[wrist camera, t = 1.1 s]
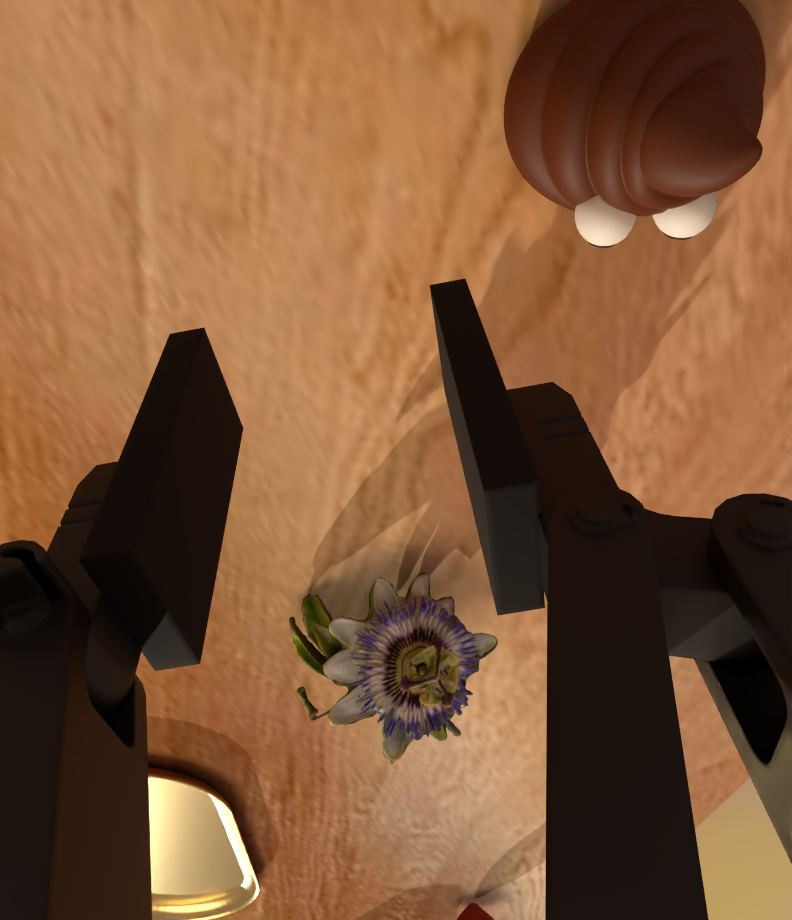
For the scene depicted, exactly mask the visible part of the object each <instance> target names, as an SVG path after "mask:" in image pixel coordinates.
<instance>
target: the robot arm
mask: <svg viewBox="0 0 792 920" xmlns="http://www.w3.org/2000/svg"><path fill="white" fill-rule="evenodd" d="M430 290H431V297H432V304H433V311H434V318H435V325H436V332H437V339H438V346H439V353H440V360H441V367H442V374H443V381H444V388H445V394H446V398H447V403H448V407H449V411H450V415H451V420H452V424H453V428H454V432H455V437H456V441H457V445H458V449H459V454H460V458H461V462H462V466H463V470H464V475H465V479H466V483H467V487H468V492H469V496H470V500H471V504H472V509H473V513H474V517H475V521H476V526H477V530H478V534H479V538H480V543H481V547H482V551H483V555H484V560H485V564H486V568H487V572H488V577H489V581H490V585H491V589H492V594H493V598H494V602H495V606H496V611H497V615H503V614H509V613H516V612H522V611H528V610H534V609H540V608H545V601H544V592H545V595H546V599H547V602H548V609H547V768H546V920H708V914H707V907H706V900H705V894H704V887H703V881H702V874H701V867H700V862H699V854H698V847H697V842H696V834H695V827H694V821H693V814H692V807H691V801H690V794H689V787H688V781H687V774H686V767H685V761H684V754H683V747H682V741H681V734H680V728H679V721H678V714H677V708H676V701H675V694H674V688H673V681H672V674H671V668H670V661H669V656H677V657H684V658H692V659H694V660H695V662H696V664H697V666H698V669H699V671H700V673H701V675H702V677H703V679H704V681H705V683H706V685H707V687H708V690H709V692H710V694H711V696H712V698H713V700H714V702H715V704H716V706H717V708H718V710H719V713H720V715H721V717H722V719H723V721H724V723H725V725H726V727H727V729H728V731H729V733H730V736H731V738H732V740H733V742H734V744H735V746H736V748H737V750H738V752H739V754H740V756H741V759H742V761H743V763H744V765H745V767H746V769H747V771H748V773H749V775H750V777H751V780H752V782H753V784H754V786H755V788H756V790H757V792H758V794H759V796H760V798H761V800H762V803H763V804H764V807H765V809H766V811H767V813H768V815H769V817H770V819H771V821H772V823H773V826H774V828H775V830H776V832H777V834H778V836H779V838H780V840H781V842H782V844H783V847H784V849H785V851H786V853H787V855H788V857H789V859H790V861H791V863H792V501H791V500H789V499H787V498H784V497H779V496H774V495H769V494H764V493H763V494H742V495H739V496H736V497H733V498H730V499H727V500H725V501H724V502H723V503H722V504H721V505H720V506H718V507H717V508H716V509H715V511H714V514H713V518H712V519H707V518H693V517H680V516H671V515H665V514H659V513H656V512H653V511H650V510H647V509H645V508H644V507H643V505H642V503H640V502H639V501H638V500H637V499H636V498H635V497H633V496H632V495H631V494H630V493H628V492H625V491H623V490H620V489H619V487H618V486H617V484H616V482H615V480H614V478H613V476H612V474H611V472H610V470H609V468H608V466H607V464H606V462H605V460H604V458H603V456H602V454H601V452H600V450H599V448H598V446H597V444H596V442H595V440H594V438H593V436H592V434H591V432H589V429H588V426H587V424H586V423H585V421H584V419H583V417H581V413H580V411H579V409H578V407H577V405H576V403H575V401H574V399H573V397H572V395H570V394H569V393H568V392H566V391H565V390H563V389H562V388H560V387H559V386H558V385H556V384H555V383H553V382H549V383H544V384H538V385H533V386H527V387H521V388H516V389H510V390H506V388H505V385H504V382H503V380H502V377H501V374H500V371H499V369H498V366H497V363H496V361H495V358H494V355H493V352H492V350H491V347H490V344H489V342H488V339H487V336H486V334H485V331H484V328H483V325H482V323H481V320H480V317H479V315H478V312H477V309H476V306H475V304H474V301H473V298H472V296H471V293H470V290H469V287H468V285H467V282H466V279H461V280H455V281H450V282H445V283H439V284H434V285H430ZM242 432H243V426H242V424H241V421H240V419H239V416H238V414H237V411H236V408H235V406H234V403H233V401H232V398H231V396H230V393H229V390H228V388H227V385H226V383H225V380H224V377H223V375H222V372H221V370H220V367H219V365H218V362H217V359H216V357H215V354H214V352H213V349H212V347H211V344H210V341H209V339H208V336H207V334H206V331H205V329H204V328H199V329H194V330H189V331H183V332H178V333H173V334H170V335H169V338H168V340H167V343H166V345H165V347H164V350H163V352H162V355H161V357H160V360H159V362H158V365H157V367H156V370H155V372H154V375H153V377H152V380H151V382H150V384H149V387H148V389H147V392H146V394H145V397H144V399H143V402H142V404H141V407H140V409H139V412H138V414H137V416H136V419H135V421H134V424H133V426H132V429H131V431H130V434H129V436H128V439H127V441H126V444H125V446H124V448H123V451H122V453H121V456H120V458H119V461H118V462H112V463H106V464H101V465H96V466H95V467H94V468H93V470H92V471H91V472H90V473H89V474H88V475H87V476H86V477H85V478H84V479H83V480H82V481H81V482H80V483H79V484H78V485H77V488H76V490H75V492H74V494H73V496H72V498H71V501H70V503H69V505H68V507H69V509H68V510H66V511H65V514H64V516H63V518H62V520H61V522H60V523H61V527H58V529H57V531H56V533H55V535H54V537H53V540H52V542H51V544H50V546H49V548H48V550H47V552H46V551H45V549H44V548H43V547H42V546H40V545H39V544H38V543H36V542H35V541H26V540H18V541H14V542H9V543H4V544H1V545H0V920H152V891H151V856H150V820H149V785H148V750H147V715H146V694H145V690H144V687H143V684H142V682H141V681H140V680H139V678H138V677H137V675H136V674H135V673H136V669H137V665H138V661H139V658H140V654H141V651H142V653H143V654H144V656H145V657H146V658H147V660H148V661H149V663H150V664H151V666H152V667H153V669H154V670H155V671H158V670H164V669H171V668H177V667H183V666H189V665H195V664H200V661H201V655H202V650H203V645H204V639H205V634H206V628H207V623H208V617H209V612H210V606H211V601H212V596H213V590H214V585H215V579H216V574H217V568H218V563H219V557H220V552H221V547H222V541H223V536H224V530H225V525H226V519H227V514H228V508H229V503H230V497H231V492H232V487H233V481H234V476H235V470H236V465H237V459H238V454H239V448H240V443H241V438H242Z"/></svg>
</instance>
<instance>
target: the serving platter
mask: <svg viewBox="0 0 792 920" xmlns="http://www.w3.org/2000/svg"><path fill="white" fill-rule="evenodd" d="M148 785H149V820H150V856H151V891H152V920H208V919H213V918H218V917H221V916H225V915H228V914H231V913H234V912H236V911H238V910H241V909H243V908H244V907H246V906H248V905H249V904H250V903H252V902H253V901H254V900H255V898H256V897H257V895H258V893H259V889H260V885H259V881H258V878H257V875H256V873H255V870H254V867H253V864H252V862H251V859H250V856H249V854H248V851H247V848H246V846H245V843H244V840H243V837H242V835H241V832H240V829H239V827H238V824H237V821H236V818H235V816H234V813H233V811H232V809H231V807H230V805H229V804H228V802H227V801H226V800H225V799H224V798H223V797H222V796H221V795H220V794H219V793H218V792H217V791H216V790H214V789H213V788H211V787H210V786H208V785H207V784H205V783H203V782H201V781H199V780H197V779H194V778H192V777H190V776H187V775H184V774H181V773H177V772H174V771H169V770H165V769H160V768H153V767H148Z"/></svg>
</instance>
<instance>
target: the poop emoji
mask: <svg viewBox="0 0 792 920" xmlns="http://www.w3.org/2000/svg"><path fill="white" fill-rule="evenodd" d="M764 84H765V54H764V48H763V44H762V40H761V37H760V34H759V31H758V29H757V27H756V25H755V22H754V21H753V19H752V17H751V16H750V14H749V12H748V11H747V10H746V8H745V7H744V6H743V5H742V3H741V2H740V1H739V0H572V1H570V2H569V3H567V4H566V5H564V6H563V7H562V8H560V9H559V10H558V11H557V12H555V13H554V14H553V15H552V16H551V17H550V18H548V19H547V20H546V21H545V22H544V23H543V24H542V25H541V27H540V28H539V29H538V30H537V31H536V32H535V34H534V35H533V36H532V37H531V39H530V40H529V42H528V43H527V44H526V46H525V48H524V49H523V51H522V53H521V54H520V56H519V58H518V60H517V62H516V64H515V67H514V69H513V72H512V74H511V77H510V80H509V84H508V88H507V92H506V97H505V105H504V129H505V136H506V141H507V145H508V148H509V152H510V154H511V157H512V159H513V161H514V163H515V165H516V167H517V168H518V170H519V172H520V173H521V174H522V176H523V177H524V178H525V180H526V181H527V182H528V183H529V184H530V185H531V186H532V187H533V188H534V189H535V190H537V191H538V192H539V193H540V194H542V195H543V196H544V197H546V198H548V199H549V200H551V201H553V202H554V203H556V204H558V205H560V206H563V207H565V208H568V209H570V210H573V211H575V222H576V226H577V229H578V231H579V232H580V234H581V235H582V237H583V238H584V239H585V240H587V241H588V243H589V244H591V245H593V246H595V247H600V248H607V247H612V246H614V245H615V244H616V243H618V242H620V241H622V240H623V239H624V238H625V237H626V236H627V235H628V234H629V233H630V231H631V230H632V228H633V226H634V223H635V220H636V216H649V215H653V219H654V221H655V223H656V225H657V226H658V228H659V229H660V230H661V231H662V232H663V233H664V234H665V235H666V236H668V237H670V238H673V239H679V240H684V239H689V238H691V237H693V236H694V235H696V234H698V233H700V232H701V231H703V230H704V229H705V228H706V227H707V226H708V225H709V223H710V222H711V220H712V219H713V217H714V214H715V211H716V207H717V197H716V191H719V190H721V189H723V188H725V187H727V186H729V185H731V184H732V183H734V182H736V181H737V180H739V179H740V178H742V177H743V176H744V175H745V174H747V173H748V172H749V171H750V170H751V169H752V168H753V167H754V166H755V165H756V163H757V162H758V161H759V159H760V157H761V155H762V150H763V148H762V145H761V143H760V141H759V140H758V139H757V135H758V132H759V128H760V125H761V120H762V114H763V90H764Z"/></svg>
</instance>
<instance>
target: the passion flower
mask: <svg viewBox="0 0 792 920" xmlns="http://www.w3.org/2000/svg"><path fill="white" fill-rule="evenodd" d="M454 610H455V608H454V600H453V598H452V597H451V596H450V597H443V598H441V599H439V600H434V599H433V598H432V597H431V596H430V581H429V575H427V574H425V575H419V576H417V577H416V578H415V580H414V581H413V582H412V583H411V585H410V587H409V589H408V592H407V596H406V598H403V597H399V596H398V595H397V593H396V590H395V589H394V587H393V585H392V584H391V583H390V582H388V581H387V580H386V579H384V578H382V577H380V578H378V579H377V580H376V581H375V582H374V584H373V586H372V587H371V590H370V593H369V613H368V616H367V618H366V619H365V620H355V619H352V618H347V617H336V618H335V619H332V617H331V615H330V614H329V612H328V611H327V609H326V607H325V605H324V604H323V602H322V600H321V599H320V598H319V596H318V595H317V594H314V595H311V594H308V595H306V596H305V598H304V599H303V604H302V612H303V622H304V625H305V628H306V632H307V633H308V637H309V638H310V639H311V640H312V641H313V642H314V643H315V645H316V646H317V647H318V649H319V650H320V651H321V652H322V653H323V654H324V655H325V656H324V655H322V654H321V653H320V652H319V651H318V650H317V649H316V648H315V647H314V645H313V644H312V643H311V642H310V641H308V639H307V637H306V636H305V635H303V634H302V632H301V631H300V629H299V628H298V627H297V625H296V624H295V618H294V617H290V619H289V622H290V628H291V631H292V636H293V638H294V639H293V642H294V644H295V645H296V646H297V652H298V655H299V656H300V657H301V659H302V660H303V661H304V662H305V663H306V664H307V665H309V666H310V667H311V668H312V669H314V670H315V671H316V672H318V673H320V674H322V675H324V676H326V677H327V678H329V679H331V680H332V681H333V682H334V683H335V684H336V685H339V686H346V687H347V688H348V690H349V691H348V693H347V694H346V695H345V696H344V697H342V698H341V699H340V700H339V701H337V703H336V704H335V705H334V706H333V707H332V708H331V710H329V711H327V712H326V713H324V714H322V715H320V716H318V717H316V716H315V715H316V714H317V713H318V710H317V709H316V708H314V706H313V705H312V704H311V703H310V702H309V701H308V699H307V696H306V692H305V688H304V687H300V688H298V689H297V691H296V693H297V696H298V698H299V699H300V701H301V703H302V705H303V707H304V708H305V710H306V711H307V712H308V714H309V717H310V719H311V720H316V719H319V718H321V717H323V716H325V715H327V714H329V716H328V720H329V723H330V724H331V725H332V726H339V725H346V724H352V723H355V722H357V721H359V720H361V719H364V718H369V717H373V716H374V715H375V714H377V713H379V714H380V718H379V720H378V723H379V722H380V721H383V727H382V746H383V754H384V756H385V757H386V758H387V759H388V760H390V762H391V764H392V763H393V762H395V761H396V760H398V759H399V758H400V757H401V756H402V755H403V754H404V752H405V750H406V748H407V746H408V745H409V744H410V743H411V741H412V740H413V739H414V738H415V740H419V739H421V738H422V737H423V735H427V736H428V737H429V735H430V736H431V737H433V738H434V739H436V740H438V741H444V740H446V738H447V733H446V727H447V728H448V730H449V731H451V732H452V733H453V735H454V736H459V735H461V733H460V732H461V731H460V730H459V729H458V728H457V727H456V726H455V725H454V724H453V723H452V722H451V721H450V718H452V717H453V715H454V713H457V715H459V716H460V715H461V714H462V711H461V710H460V708H461V707H465V706H468V704H467V701H468V698H467V697H466V695H472V694H473V693H471V692H470V691H468V690H466V688H465V685H466V680H467V678H468V677H469V676H470V675H471V674H473V673H475V672H478V671H479V660H480V659H482V658H484V657H485V656H487V655H488V654H489V653H491V652H492V651H493V650H494V649H495V648H496V646H497V643H498V641H497V639H496V637H495V636H493V635H490V634H485V633H478V634H472V633H471V632H468V631H467V630H466V628H465V626H464V624H462V623H461V622H460V620H459V619H458V618H457V616H455V615H454Z"/></svg>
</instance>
